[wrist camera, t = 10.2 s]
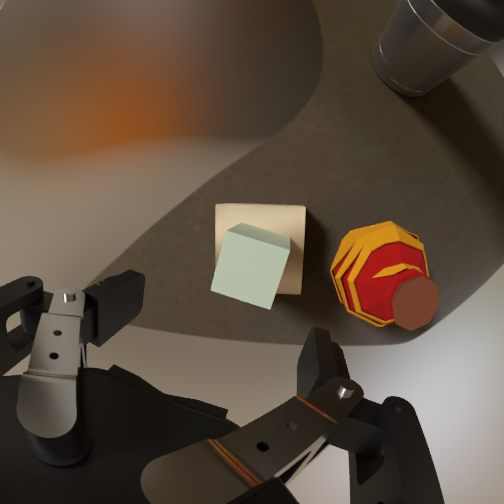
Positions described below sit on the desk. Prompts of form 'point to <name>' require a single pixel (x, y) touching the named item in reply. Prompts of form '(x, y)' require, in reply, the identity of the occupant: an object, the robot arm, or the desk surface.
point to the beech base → (273, 219)
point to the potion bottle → (385, 277)
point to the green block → (251, 264)
